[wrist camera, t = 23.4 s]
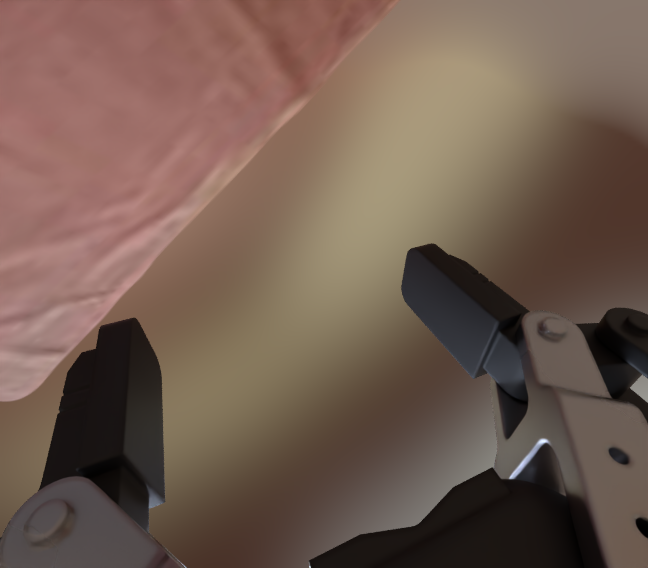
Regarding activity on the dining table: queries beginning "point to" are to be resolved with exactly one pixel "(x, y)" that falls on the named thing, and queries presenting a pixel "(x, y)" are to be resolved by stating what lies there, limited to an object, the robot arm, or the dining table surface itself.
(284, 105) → the dining table surface
